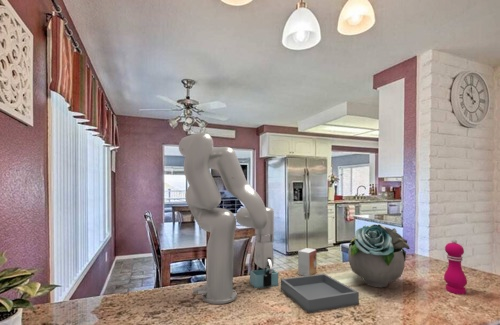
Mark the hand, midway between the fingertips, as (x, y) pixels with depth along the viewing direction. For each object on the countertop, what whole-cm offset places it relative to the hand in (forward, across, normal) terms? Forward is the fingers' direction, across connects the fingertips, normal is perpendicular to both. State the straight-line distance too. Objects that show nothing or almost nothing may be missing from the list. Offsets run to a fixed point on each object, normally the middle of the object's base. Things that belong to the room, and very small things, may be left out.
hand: (264, 282), depth 113 cm
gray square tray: (+1, +17, +14) cm, 22 cm away
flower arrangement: (+1, +14, +44) cm, 46 cm away
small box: (+1, -6, +24) cm, 25 cm away
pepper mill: (+1, +30, +68) cm, 74 cm away
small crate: (+1, 0, 0) cm, 1 cm away
